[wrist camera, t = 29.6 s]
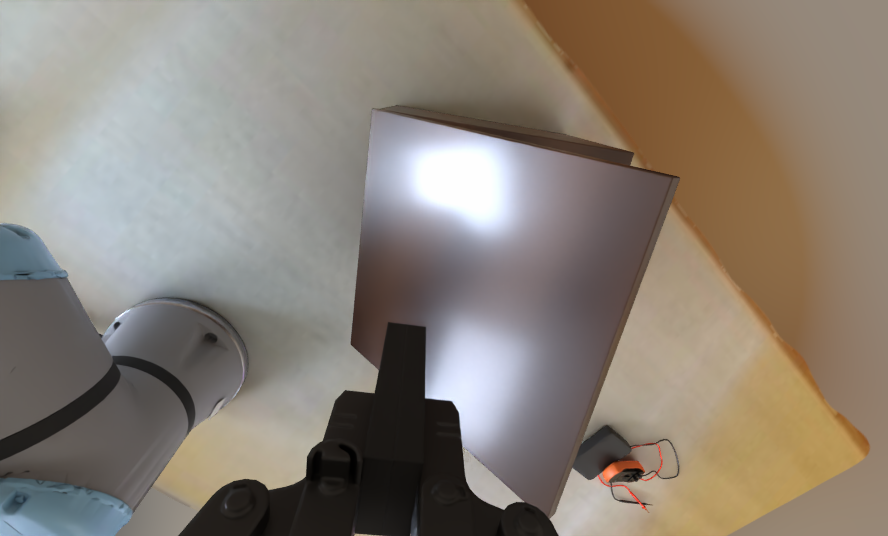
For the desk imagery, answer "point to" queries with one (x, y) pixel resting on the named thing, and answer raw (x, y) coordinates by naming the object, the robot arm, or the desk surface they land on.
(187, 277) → the desk surface
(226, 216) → the desk surface
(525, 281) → the chest lid
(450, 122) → the chest
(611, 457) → the multimeter
